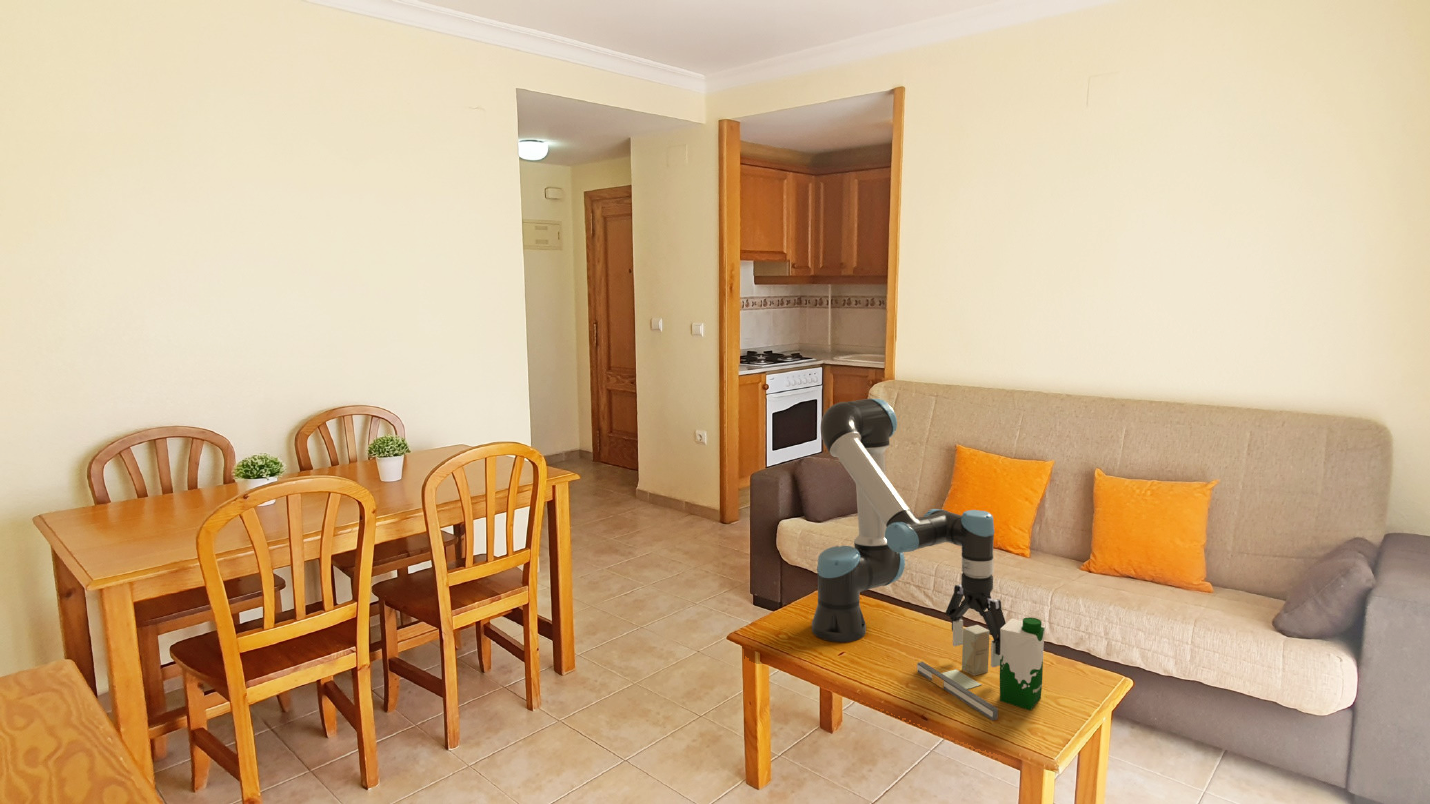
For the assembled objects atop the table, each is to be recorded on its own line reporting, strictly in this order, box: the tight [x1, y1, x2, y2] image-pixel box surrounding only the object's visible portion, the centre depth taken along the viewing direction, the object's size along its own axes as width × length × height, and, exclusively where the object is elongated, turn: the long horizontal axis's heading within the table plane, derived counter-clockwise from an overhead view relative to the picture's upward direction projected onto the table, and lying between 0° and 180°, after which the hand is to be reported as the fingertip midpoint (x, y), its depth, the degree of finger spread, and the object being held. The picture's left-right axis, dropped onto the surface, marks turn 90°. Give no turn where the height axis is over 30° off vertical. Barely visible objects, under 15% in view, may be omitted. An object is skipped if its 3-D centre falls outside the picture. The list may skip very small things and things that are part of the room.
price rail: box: [916, 661, 999, 721], centre depth 194 cm, size 26×2×2 cm, turn 25°
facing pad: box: [941, 669, 982, 690], centre depth 201 cm, size 9×7×1 cm
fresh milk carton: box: [999, 616, 1046, 711], centre depth 190 cm, size 9×9×20 cm
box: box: [961, 624, 990, 676], centre depth 205 cm, size 5×4×11 cm
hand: (976, 655), depth 205 cm, fingers open, 13 cm apart
